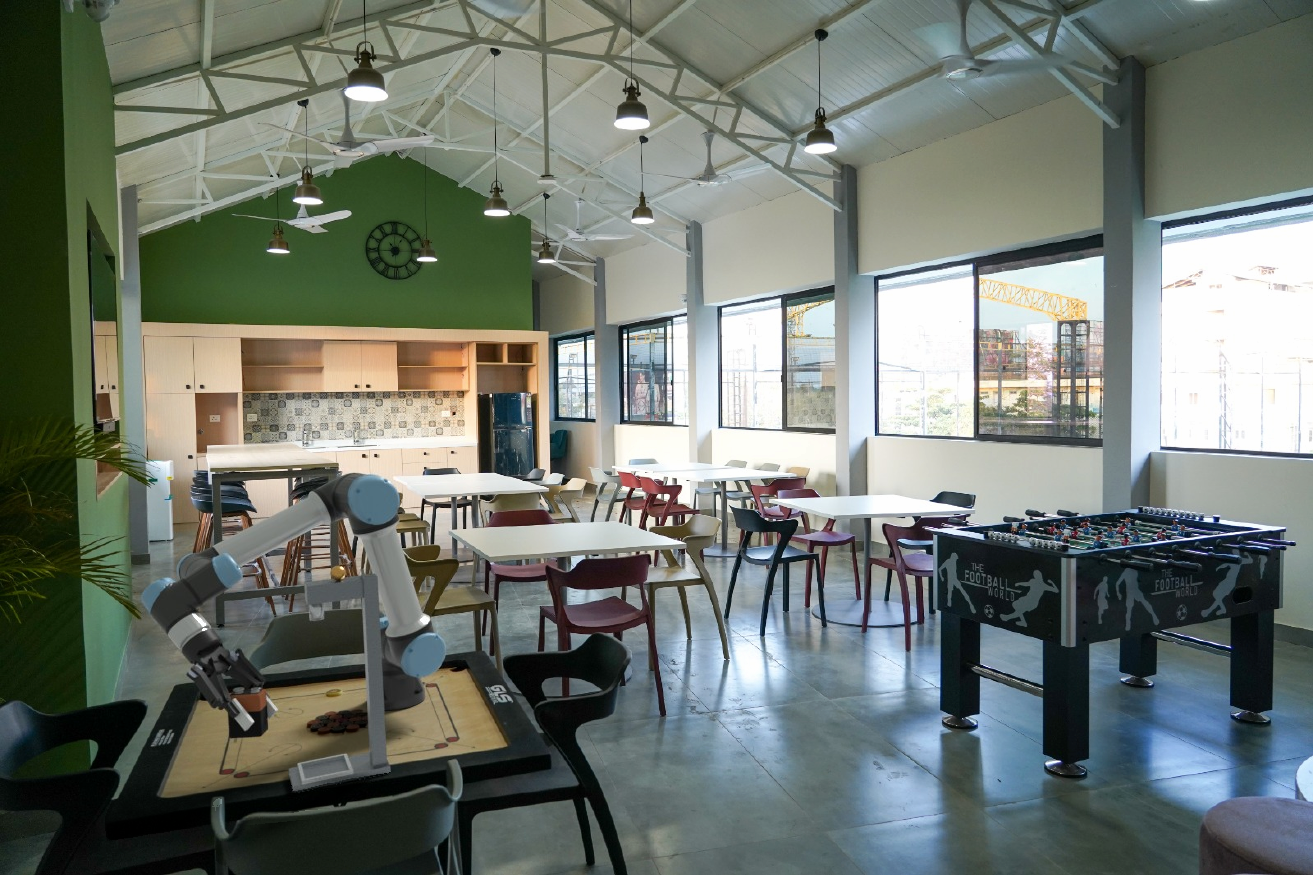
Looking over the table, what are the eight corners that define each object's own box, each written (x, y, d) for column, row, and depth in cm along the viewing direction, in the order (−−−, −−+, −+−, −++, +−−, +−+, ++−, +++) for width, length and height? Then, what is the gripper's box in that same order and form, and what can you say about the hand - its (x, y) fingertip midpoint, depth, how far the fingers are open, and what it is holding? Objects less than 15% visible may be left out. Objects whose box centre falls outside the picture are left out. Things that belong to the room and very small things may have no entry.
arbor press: (289, 775, 201) (277, 567, 198) (382, 756, 210) (372, 557, 207) (293, 793, 191) (281, 576, 189) (390, 772, 200) (380, 565, 198)
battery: (236, 731, 196) (233, 685, 195) (269, 729, 196) (266, 684, 196) (228, 739, 191) (225, 692, 191) (261, 737, 192) (259, 691, 191)
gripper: (221, 638, 207) (284, 715, 202) (150, 664, 189) (217, 749, 184) (239, 616, 205) (302, 693, 200) (168, 640, 187) (236, 725, 182)
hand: (261, 720), depth 192 cm, fingers closed on battery, 6 cm apart
